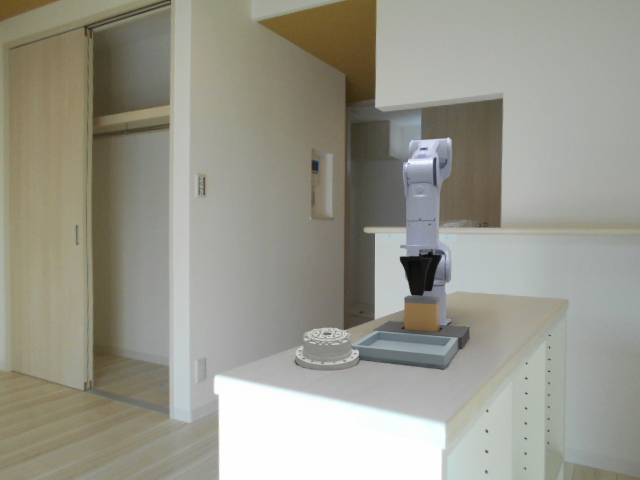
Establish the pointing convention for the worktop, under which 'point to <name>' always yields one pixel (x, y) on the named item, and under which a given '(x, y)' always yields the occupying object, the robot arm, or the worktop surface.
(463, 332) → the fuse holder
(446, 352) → the parts tray
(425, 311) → the orange two-tone block
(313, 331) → the mechanical component
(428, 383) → the worktop surface
